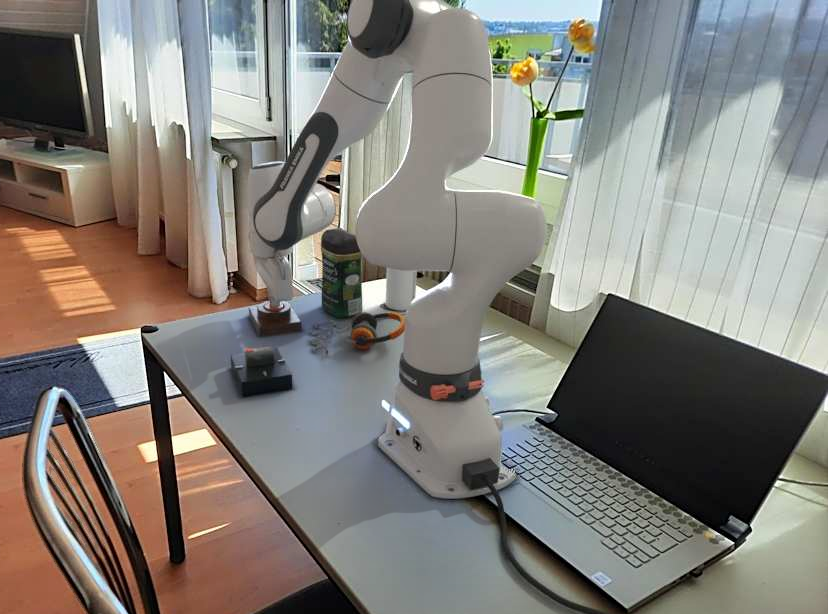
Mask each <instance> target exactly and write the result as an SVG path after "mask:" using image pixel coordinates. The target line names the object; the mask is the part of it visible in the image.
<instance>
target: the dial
mask: <svg viewBox="0 0 828 614" xmlns="http://www.w3.org/2000/svg"><path fill="white" fill-rule="evenodd" d="M244 353H245V360H246V365H247V368H250V367H257V366H263V365H270V364H275V359H274V347H273V345H266V346H259V347H246V348H245V349H244Z"/></svg>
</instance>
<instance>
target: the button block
mask: <svg viewBox="0 0 828 614" xmlns="http://www.w3.org/2000/svg"><path fill="white" fill-rule="evenodd" d="M267 303H269V300H266V301H263V302H261V303H259V304H258V305H256V306H249V307H248V317H249V319H250V321H251V323H252V325H253V326H254V328H255V331H256V332H257V335H258V336H259V337H266V336H274V335H280V334H281V335H282V334H290V333H297V332H302V321H301V319H300V318H299V316H298V315H297V313H296V312H295V310H294V309H293V307H292V306H291V304H290V303H289V302H287V301H280V303H281V304H283V309H281V310H278V311H268V310H265V305H266V304H267Z"/></svg>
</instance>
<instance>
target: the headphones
mask: <svg viewBox="0 0 828 614" xmlns="http://www.w3.org/2000/svg"><path fill="white" fill-rule="evenodd" d="M379 319H390V320H395V321H397V322H399V323H400V324H399V325H398V327H397V328H395V329H394V330H392V331H390V332H389V333H388V334H385V335H382V336H378V332H377V328H378V322H377V320H379ZM325 322H333V324H334V325H333V332H334V334H335V335H336V336H337V337H338V338H339V339H344V340H346V341H347V342H350V343H352V344H353V345H354V347H356V348H358V349H359V350H367V349H370V348H372V347H374V345H375V344H378V343H379V344H380V343H384V342H387V341H391V340H392V341H393V340H396V339H397V338H399V337H400V336H401V335H402V334H404V332H405V316H403V314H401V313H399V312H397V311H389V312H379V313H376V314H371V313H370V312H364V311H363V312H361V313H359V314H357V315H356V316H353V319H352V320H351V324H349V325H347V326H346V327H344V328H343V329H341V330H339V329H337V324H336V322H335V320H333V319H326V320H323V321H320V322H318V323H317V324H315V328H317V329H322V330H319V331H315V332H312V333H311V334H310V335H311V336H316V335H317V338H314V339H311V340H310V342H311V343H310V345H313V346H314V345H315V346H314V348H313V349H312V350H313V352H323V351H325V356H326V357H328V354H329V350H328V349H326V348H324V347H327V346H329V345H328V344H331V343H332V340H323V339H327V338H328V336H329V335H331V331H325V330H326V328H325V327H321V326H318V325H320V324H322V323H325ZM350 326H351V332H350V338H351V340H350V339H349V338H347V337H343V336H341V335H339V334H337V332H341V333H342V332H344V331H346V330H347V328H349V327H350ZM318 348H324V349H318ZM316 349H317V350H316Z"/></svg>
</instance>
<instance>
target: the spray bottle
mask: <svg viewBox="0 0 828 614" xmlns="http://www.w3.org/2000/svg"><path fill="white" fill-rule="evenodd" d="M417 276H418V271H402V270H396V269H391V268H386V277H385V278H386V279H385V282H386V283H385V306H386V308H388V309H390V310H393V311H394V310H395V311H407V309H408V307H409V305H410V304H411V302H412V301H413V300H414V299H415V298H416V295H417V294H416V293H417V278H418V277H417Z"/></svg>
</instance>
